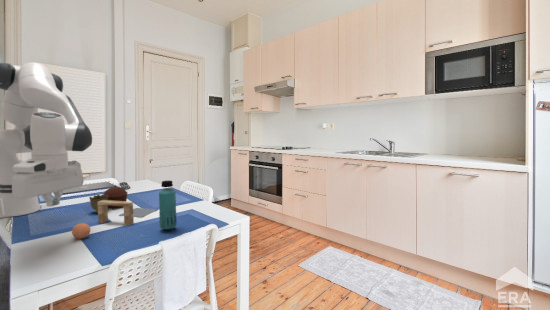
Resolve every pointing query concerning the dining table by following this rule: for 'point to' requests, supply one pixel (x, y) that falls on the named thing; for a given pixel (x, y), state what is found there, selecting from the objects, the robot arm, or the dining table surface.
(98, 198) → the cup
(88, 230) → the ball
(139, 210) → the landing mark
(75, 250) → the dining table surface
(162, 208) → the beverage bottle
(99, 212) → the bridge
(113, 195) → the muffin
